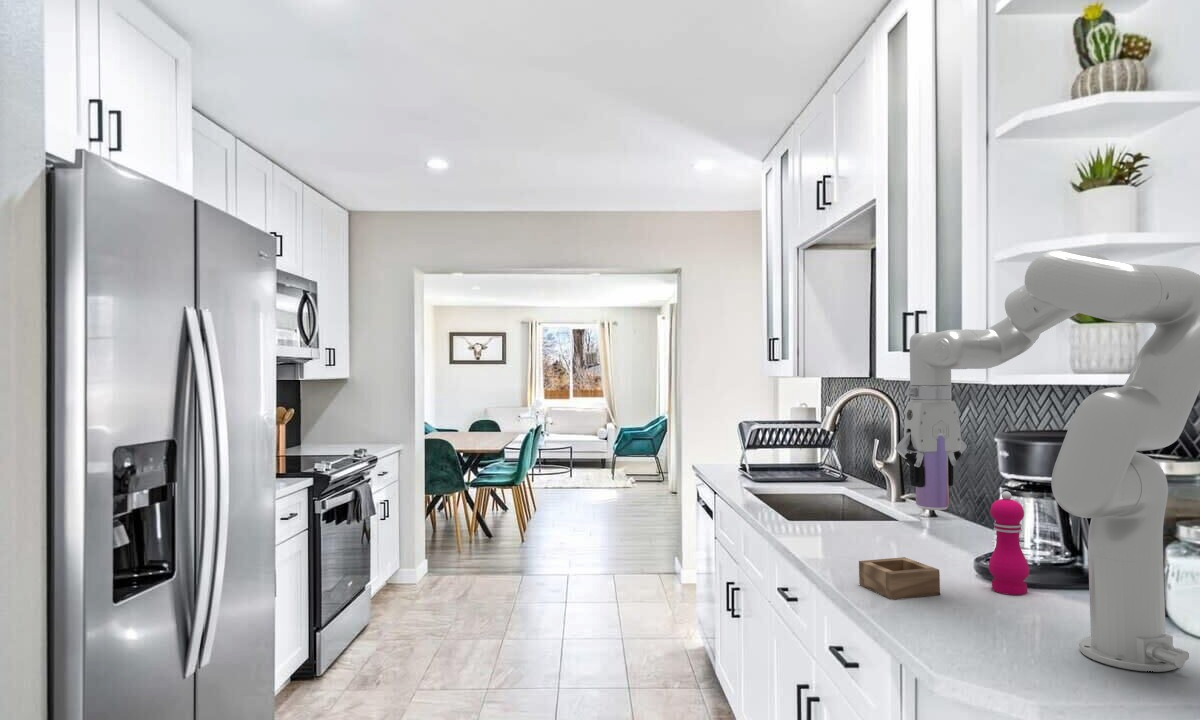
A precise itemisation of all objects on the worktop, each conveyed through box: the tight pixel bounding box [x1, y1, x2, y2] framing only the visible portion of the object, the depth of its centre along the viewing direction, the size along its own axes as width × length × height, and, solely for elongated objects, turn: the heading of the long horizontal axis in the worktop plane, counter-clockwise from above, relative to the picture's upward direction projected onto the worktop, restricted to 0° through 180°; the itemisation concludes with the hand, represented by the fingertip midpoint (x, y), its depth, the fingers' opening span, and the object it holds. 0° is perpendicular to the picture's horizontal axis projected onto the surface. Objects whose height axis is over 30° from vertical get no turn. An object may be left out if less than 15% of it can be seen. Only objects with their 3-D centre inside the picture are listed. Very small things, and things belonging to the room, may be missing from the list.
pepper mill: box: [988, 491, 1030, 596], centre depth 153 cm, size 7×7×20 cm
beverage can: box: [915, 433, 950, 511], centre depth 150 cm, size 6×6×15 cm
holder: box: [858, 556, 941, 600], centre depth 155 cm, size 11×11×5 cm
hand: (931, 484), depth 150 cm, fingers closed on beverage can, 5 cm apart
